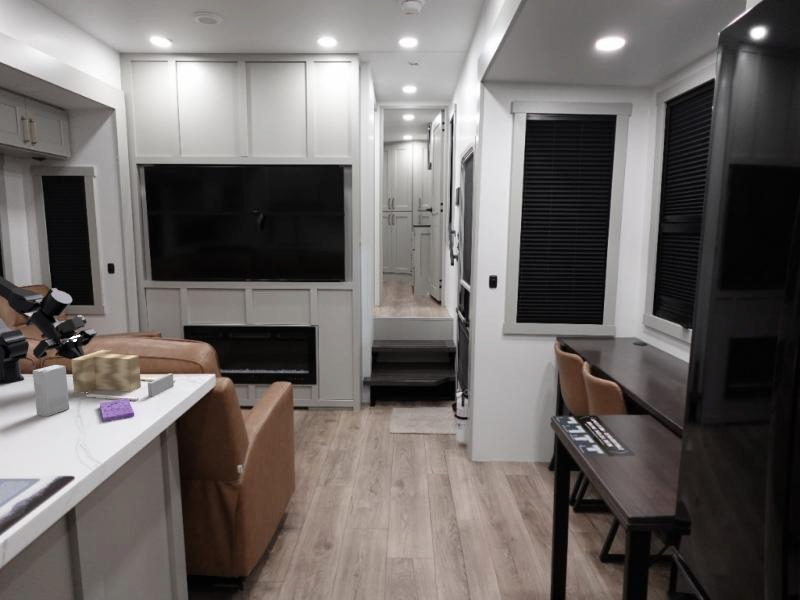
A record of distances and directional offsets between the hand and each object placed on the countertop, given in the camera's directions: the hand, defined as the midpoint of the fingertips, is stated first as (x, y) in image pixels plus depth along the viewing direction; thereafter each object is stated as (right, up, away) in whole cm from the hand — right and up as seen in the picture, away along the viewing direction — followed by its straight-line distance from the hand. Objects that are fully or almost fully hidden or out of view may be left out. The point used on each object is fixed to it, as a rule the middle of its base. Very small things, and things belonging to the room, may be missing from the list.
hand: (85, 362), depth 150 cm
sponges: (+21, -11, -20) cm, 31 cm away
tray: (+17, -8, -2) cm, 19 cm away
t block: (+9, -8, 0) cm, 12 cm away
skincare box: (+5, -11, -21) cm, 24 cm away
